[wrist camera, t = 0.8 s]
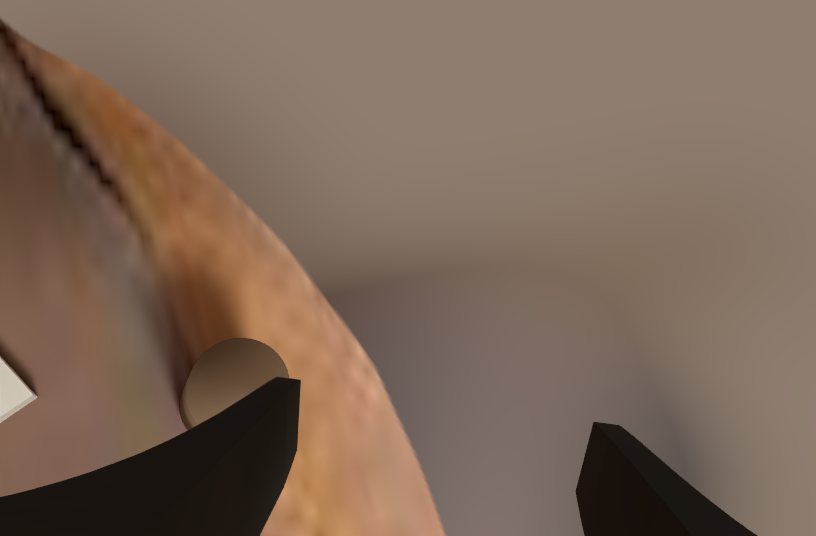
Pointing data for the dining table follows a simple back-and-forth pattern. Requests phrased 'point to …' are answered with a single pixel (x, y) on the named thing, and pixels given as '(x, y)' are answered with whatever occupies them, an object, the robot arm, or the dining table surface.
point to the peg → (227, 377)
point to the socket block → (12, 391)
